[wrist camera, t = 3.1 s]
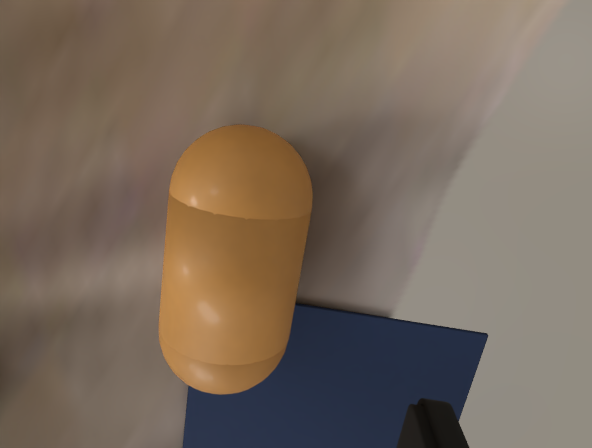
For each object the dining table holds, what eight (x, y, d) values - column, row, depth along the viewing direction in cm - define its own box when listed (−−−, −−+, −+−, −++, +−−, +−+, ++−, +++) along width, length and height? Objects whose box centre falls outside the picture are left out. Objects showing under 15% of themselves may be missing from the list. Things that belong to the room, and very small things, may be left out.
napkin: (198, 287, 18) (197, 289, 18) (487, 333, 19) (488, 335, 18) (177, 502, 22) (177, 505, 22) (416, 538, 23) (417, 541, 22)
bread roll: (195, 109, 16) (153, 118, 12) (322, 130, 16) (326, 147, 12) (175, 337, 19) (134, 413, 15) (283, 354, 19) (275, 435, 15)
